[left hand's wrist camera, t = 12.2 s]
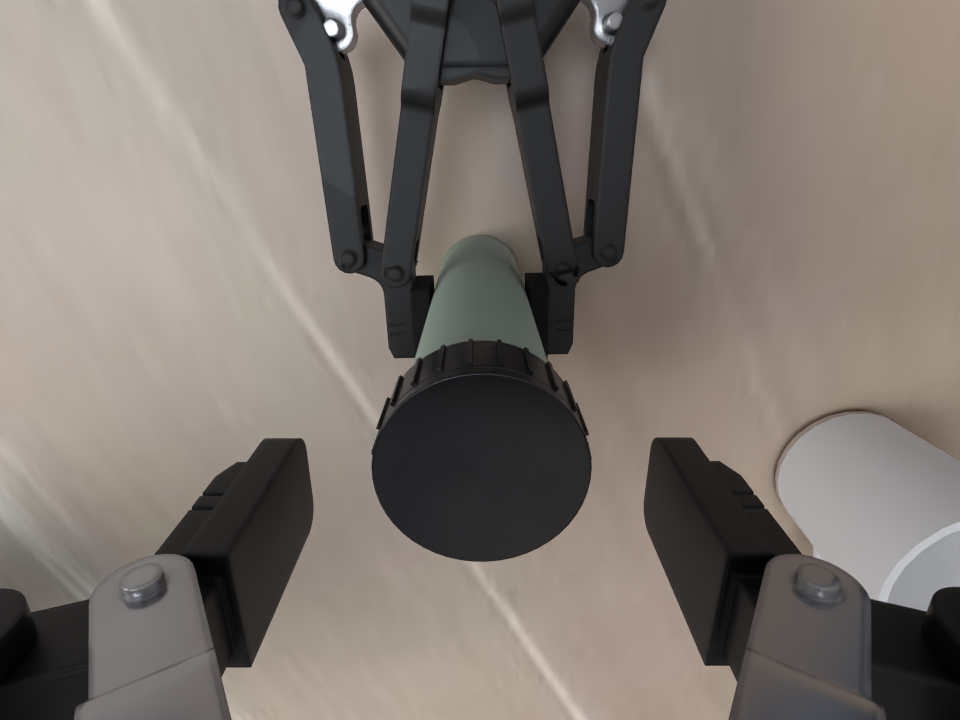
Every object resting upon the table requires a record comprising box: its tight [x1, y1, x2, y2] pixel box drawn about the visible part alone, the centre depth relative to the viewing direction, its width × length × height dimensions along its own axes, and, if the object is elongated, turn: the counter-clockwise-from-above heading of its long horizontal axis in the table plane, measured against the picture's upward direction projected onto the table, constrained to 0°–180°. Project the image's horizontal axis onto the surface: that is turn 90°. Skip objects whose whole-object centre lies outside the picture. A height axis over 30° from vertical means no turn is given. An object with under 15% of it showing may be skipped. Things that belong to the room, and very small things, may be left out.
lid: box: [372, 338, 592, 562], centre depth 13 cm, size 5×5×2 cm
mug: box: [775, 411, 960, 611], centre depth 30 cm, size 11×9×10 cm
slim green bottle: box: [413, 235, 547, 365], centre depth 21 cm, size 4×4×19 cm
